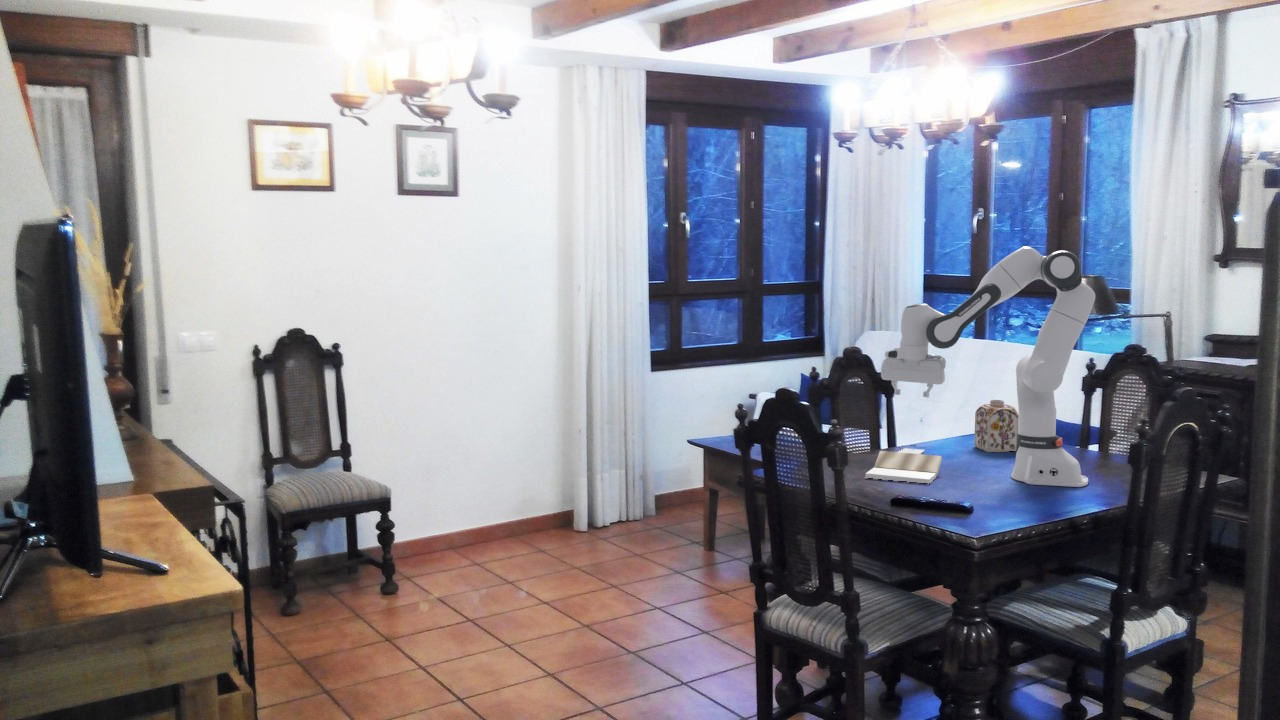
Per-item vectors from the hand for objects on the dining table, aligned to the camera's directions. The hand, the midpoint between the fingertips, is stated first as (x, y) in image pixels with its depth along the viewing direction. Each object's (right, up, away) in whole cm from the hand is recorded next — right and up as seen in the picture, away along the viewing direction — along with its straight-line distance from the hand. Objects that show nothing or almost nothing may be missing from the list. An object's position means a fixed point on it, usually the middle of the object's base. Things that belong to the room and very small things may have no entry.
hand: (911, 395), depth 336 cm
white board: (-5, -26, -8) cm, 28 cm away
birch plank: (-1, -23, 0) cm, 23 cm away
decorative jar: (+41, -21, +38) cm, 59 cm away
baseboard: (+2, -23, +23) cm, 33 cm away
